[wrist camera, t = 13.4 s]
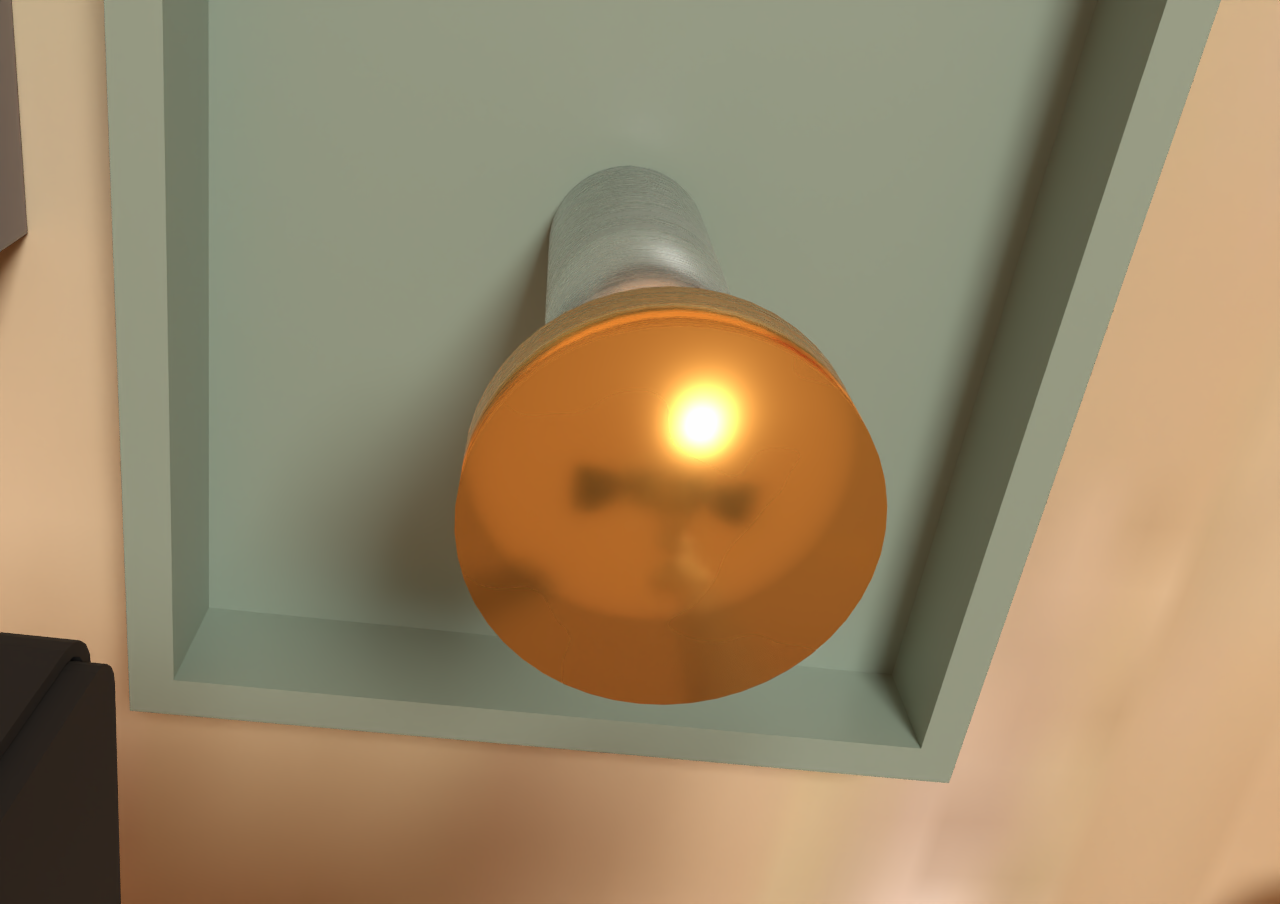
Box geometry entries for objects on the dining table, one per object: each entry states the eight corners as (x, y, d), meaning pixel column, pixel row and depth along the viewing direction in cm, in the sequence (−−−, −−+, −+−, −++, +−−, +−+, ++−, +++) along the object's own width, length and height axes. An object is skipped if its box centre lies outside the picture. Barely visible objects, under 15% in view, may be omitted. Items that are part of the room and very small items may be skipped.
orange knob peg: (772, 138, 21) (936, 357, 11) (724, 373, 22) (833, 722, 13) (518, 100, 20) (476, 297, 11) (491, 342, 22) (437, 685, 13)
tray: (1219, -286, 19) (1328, -312, 16) (910, 691, 27) (949, 782, 24) (161, -500, 17) (82, -570, 14) (177, 619, 25) (130, 710, 22)
